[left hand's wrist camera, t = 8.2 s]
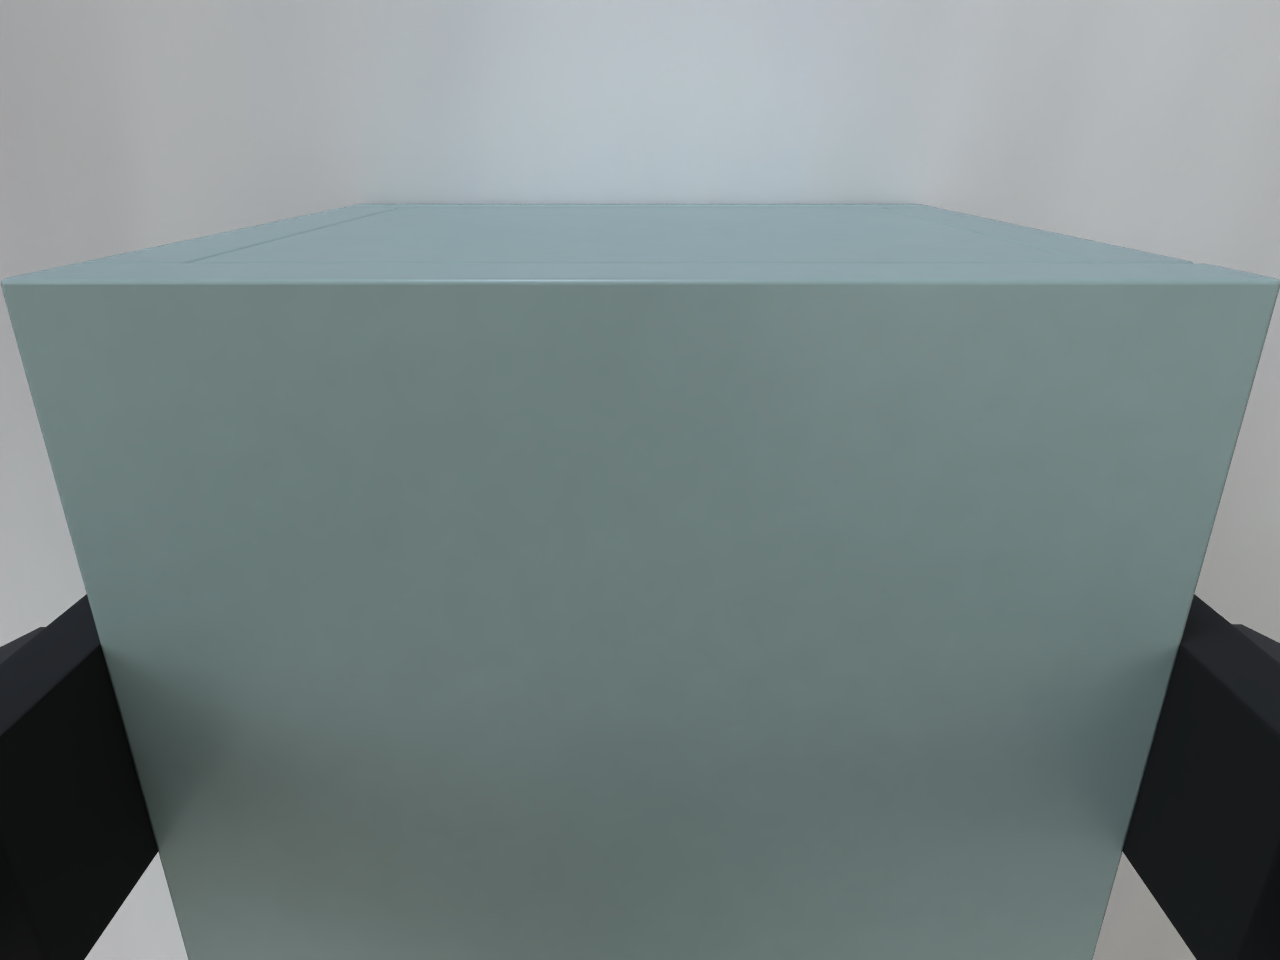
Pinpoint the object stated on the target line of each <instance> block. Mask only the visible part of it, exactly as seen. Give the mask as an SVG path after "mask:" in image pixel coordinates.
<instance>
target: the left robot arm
mask: <svg viewBox="0 0 1280 960" xmlns="http://www.w3.org/2000/svg"><path fill="white" fill-rule="evenodd" d="M157 852H158V848H157V844H156V841H155V837H154V833H153V830H152V826H151V823H150V819H149V815H148V812H147V808H146V805H145V801H144V797H143V794H142V790H141V787H140V783H139V779H138V776H137V772H136V769H135V765H134V761H133V758H132V754H131V751H130V747H129V743H128V740H127V736H126V733H125V729H124V725H123V722H122V718H121V715H120V711H119V707H118V704H117V700H116V697H115V693H114V689H113V686H112V682H111V679H110V675H109V671H108V668H107V664H106V661H105V657H104V653H103V650H102V646H101V643H100V639H99V635H98V632H97V628H96V625H95V621H94V618H93V614H92V610H91V607H90V603H89V600H88V596H87V594H86V595H85V596H84V597H83V598H81V599H80V600H79V601H78V602H77V603H75V604H74V605H73V606H72V607H70V608H69V609H68V610H67V611H65V612H64V613H63V614H62V615H60V616H59V617H58V618H57V619H56V620H54V621H53V622H52V623H51V624H49V625H48V626H47V627H40V628H38V629H36V630H34V631H32V632H30V633H28V634H26V635H24V636H22V637H20V638H18V639H16V640H14V641H12V642H10V643H8V644H6V645H4V646H2V647H0V960H84V959H85V958H86V956H87V955H88V953H89V952H90V950H91V949H92V947H93V946H94V945H95V943H96V942H97V940H98V939H99V937H100V936H101V934H102V933H103V931H104V930H105V928H106V927H107V926H108V924H109V923H110V921H111V920H112V918H113V917H114V915H115V914H116V912H117V911H118V909H119V908H120V906H121V905H122V904H123V902H124V901H125V899H126V898H127V896H128V895H129V893H130V892H131V890H132V889H133V887H134V886H135V885H136V883H137V882H138V880H139V879H140V877H141V876H142V874H143V873H144V871H145V870H146V868H147V867H148V866H149V864H150V863H151V861H152V860H153V858H154V857H155V855H156V854H157ZM1123 853H1124V854H1125V855H1126V857H1127V858H1128V860H1129V861H1130V863H1131V864H1132V866H1133V867H1134V869H1135V870H1136V872H1137V873H1138V874H1139V876H1140V877H1141V879H1142V880H1143V882H1144V883H1145V885H1146V886H1147V888H1148V889H1149V891H1150V892H1151V893H1152V895H1153V896H1154V898H1155V899H1156V901H1157V902H1158V904H1159V905H1160V907H1161V908H1162V910H1163V911H1164V912H1165V914H1166V915H1167V917H1168V918H1169V920H1170V921H1171V923H1172V924H1173V926H1174V927H1175V929H1176V930H1177V931H1178V933H1179V934H1180V936H1181V937H1182V939H1183V940H1184V942H1185V943H1186V945H1187V946H1188V948H1189V949H1190V950H1191V952H1192V953H1193V955H1194V956H1195V958H1196V959H1197V960H1280V643H1278V642H1276V641H1274V640H1272V639H1270V638H1268V637H1266V636H1264V635H1262V634H1260V633H1258V632H1256V631H1254V630H1252V629H1250V628H1248V627H1246V626H1244V625H1242V624H1230V623H1229V622H1228V621H1227V620H1225V619H1224V618H1223V617H1222V616H1221V615H1219V614H1218V613H1217V612H1216V611H1214V610H1213V609H1212V608H1211V607H1209V606H1208V605H1207V604H1206V603H1204V602H1203V601H1202V600H1201V599H1199V598H1198V597H1197V596H1196V595H1195V594H1194V596H1193V600H1192V603H1191V607H1190V611H1189V614H1188V618H1187V621H1186V625H1185V628H1184V632H1183V636H1182V639H1181V643H1180V646H1179V650H1178V654H1177V657H1176V661H1175V664H1174V668H1173V671H1172V675H1171V679H1170V682H1169V686H1168V689H1167V693H1166V697H1165V700H1164V704H1163V707H1162V711H1161V715H1160V718H1159V722H1158V725H1157V729H1156V732H1155V736H1154V740H1153V743H1152V747H1151V750H1150V754H1149V758H1148V761H1147V765H1146V768H1145V772H1144V775H1143V779H1142V783H1141V786H1140V790H1139V793H1138V797H1137V801H1136V804H1135V808H1134V811H1133V815H1132V818H1131V822H1130V826H1129V829H1128V833H1127V836H1126V840H1125V844H1124V847H1123Z"/></svg>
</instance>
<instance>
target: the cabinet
mask: <svg viewBox="0 0 1280 960" xmlns="http://www.w3.org/2000/svg"><path fill="white" fill-rule="evenodd" d="M1 286H2V290H3V294H4V297H5V301H6V304H7V308H8V312H9V315H10V319H11V322H12V326H13V330H14V333H15V337H16V340H17V344H18V348H19V351H20V355H21V358H22V362H23V366H24V369H25V373H26V376H27V380H28V384H29V387H30V391H31V394H32V398H33V402H34V405H35V409H36V412H37V416H38V420H39V423H40V427H41V430H42V434H43V438H44V441H45V445H46V448H47V452H48V456H49V459H50V463H51V466H52V470H53V474H54V477H55V481H56V484H57V488H58V492H59V495H60V499H61V502H62V506H63V510H64V513H65V517H66V520H67V524H68V528H69V531H70V535H71V538H72V542H73V546H74V549H75V553H76V556H77V560H78V564H79V567H80V571H81V574H82V578H83V582H84V585H85V589H86V592H87V596H88V600H89V603H90V607H91V610H92V614H93V618H94V621H95V625H96V628H97V632H98V635H99V639H100V643H101V646H102V650H103V653H104V657H105V661H106V664H107V668H108V671H109V675H110V679H111V682H112V686H113V689H114V693H115V697H116V700H117V704H118V707H119V711H120V715H121V718H122V722H123V725H124V729H125V733H126V736H127V740H128V743H129V747H130V751H131V754H132V758H133V761H134V765H135V769H136V772H137V776H138V779H139V783H140V787H141V790H142V794H143V797H144V801H145V805H146V808H147V812H148V815H149V819H150V823H151V826H152V830H153V833H154V837H155V841H156V844H157V848H158V851H159V855H160V859H161V862H162V866H163V869H164V873H165V877H166V880H167V884H168V887H169V891H170V895H171V898H172V902H173V905H174V909H175V913H176V916H177V920H178V923H179V927H180V931H181V934H182V938H183V941H184V945H185V949H186V952H187V956H188V959H189V960H1092V958H1093V955H1094V951H1095V947H1096V944H1097V940H1098V937H1099V933H1100V930H1101V926H1102V922H1103V919H1104V915H1105V912H1106V908H1107V904H1108V901H1109V897H1110V894H1111V890H1112V887H1113V883H1114V879H1115V876H1116V872H1117V869H1118V865H1119V861H1120V858H1121V854H1122V851H1123V847H1124V844H1125V840H1126V836H1127V833H1128V829H1129V826H1130V822H1131V818H1132V815H1133V811H1134V808H1135V804H1136V801H1137V797H1138V793H1139V790H1140V786H1141V783H1142V779H1143V775H1144V772H1145V768H1146V765H1147V761H1148V758H1149V754H1150V750H1151V747H1152V743H1153V740H1154V736H1155V732H1156V729H1157V725H1158V722H1159V718H1160V715H1161V711H1162V707H1163V704H1164V700H1165V697H1166V693H1167V689H1168V686H1169V682H1170V679H1171V675H1172V671H1173V668H1174V664H1175V661H1176V657H1177V654H1178V650H1179V646H1180V643H1181V639H1182V636H1183V632H1184V628H1185V625H1186V621H1187V618H1188V614H1189V611H1190V607H1191V603H1192V600H1193V596H1194V593H1195V589H1196V585H1197V582H1198V578H1199V575H1200V571H1201V568H1202V564H1203V560H1204V557H1205V553H1206V550H1207V546H1208V542H1209V539H1210V535H1211V532H1212V528H1213V525H1214V521H1215V517H1216V514H1217V510H1218V507H1219V503H1220V499H1221V496H1222V492H1223V489H1224V485H1225V482H1226V478H1227V474H1228V471H1229V467H1230V464H1231V460H1232V456H1233V453H1234V449H1235V446H1236V442H1237V439H1238V435H1239V431H1240V428H1241V424H1242V421H1243V417H1244V413H1245V410H1246V406H1247V403H1248V399H1249V395H1250V392H1251V388H1252V385H1253V381H1254V378H1255V374H1256V370H1257V367H1258V363H1259V360H1260V356H1261V352H1262V349H1263V345H1264V342H1265V338H1266V335H1267V331H1268V327H1269V324H1270V320H1271V317H1272V313H1273V309H1274V306H1275V302H1276V299H1277V295H1278V292H1279V288H1280V281H1279V280H1277V279H1275V278H1271V277H1267V276H1262V275H1257V274H1252V273H1248V272H1243V271H1238V270H1233V269H1228V268H1224V267H1219V266H1214V265H1209V264H1195V263H1193V262H1191V261H1186V260H1181V259H1176V258H1172V257H1167V256H1162V255H1157V254H1153V253H1148V252H1143V251H1138V250H1134V249H1129V248H1124V247H1119V246H1115V245H1110V244H1105V243H1100V242H1096V241H1091V240H1086V239H1081V238H1077V237H1072V236H1067V235H1062V234H1058V233H1053V232H1048V231H1043V230H1039V229H1034V228H1029V227H1024V226H1020V225H1015V224H1010V223H1005V222H1001V221H996V220H991V219H986V218H982V217H977V216H972V215H967V214H963V213H958V212H953V211H948V210H944V209H939V208H936V207H931V206H926V205H921V204H358V205H353V206H349V207H344V208H339V209H334V210H329V211H324V212H319V213H315V214H310V215H305V216H300V217H296V218H291V219H286V220H281V221H277V222H272V223H267V224H262V225H257V226H253V227H248V228H243V229H238V230H234V231H229V232H224V233H219V234H214V235H210V236H205V237H200V238H195V239H191V240H186V241H181V242H176V243H171V244H167V245H162V246H157V247H152V248H148V249H143V250H138V251H133V252H129V253H124V254H119V255H114V256H109V257H105V258H100V259H95V260H90V261H86V262H82V263H76V264H71V265H66V266H62V267H57V268H52V269H47V270H42V271H38V272H33V273H28V274H23V275H19V276H14V277H9V278H6V279H4V280H2V282H1Z"/></svg>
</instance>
